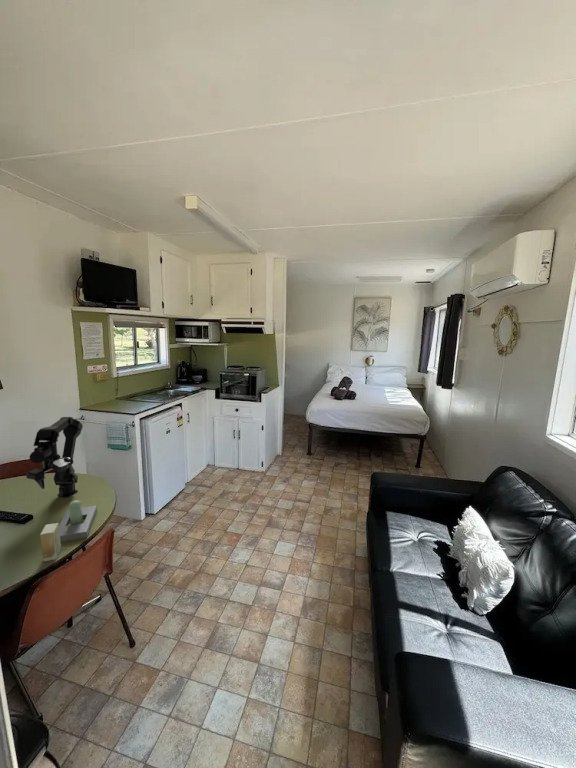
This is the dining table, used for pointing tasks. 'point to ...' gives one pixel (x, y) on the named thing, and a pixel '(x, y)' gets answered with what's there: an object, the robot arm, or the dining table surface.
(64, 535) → the holder block
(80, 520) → the sage peg
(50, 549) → the skincare box
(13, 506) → the dining table surface
